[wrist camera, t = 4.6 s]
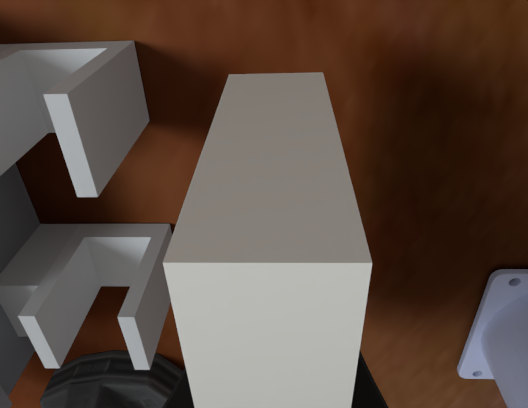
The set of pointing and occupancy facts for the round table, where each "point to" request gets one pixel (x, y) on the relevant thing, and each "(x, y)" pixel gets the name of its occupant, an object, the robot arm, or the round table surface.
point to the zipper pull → (110, 383)
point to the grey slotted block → (86, 185)
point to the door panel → (270, 253)
